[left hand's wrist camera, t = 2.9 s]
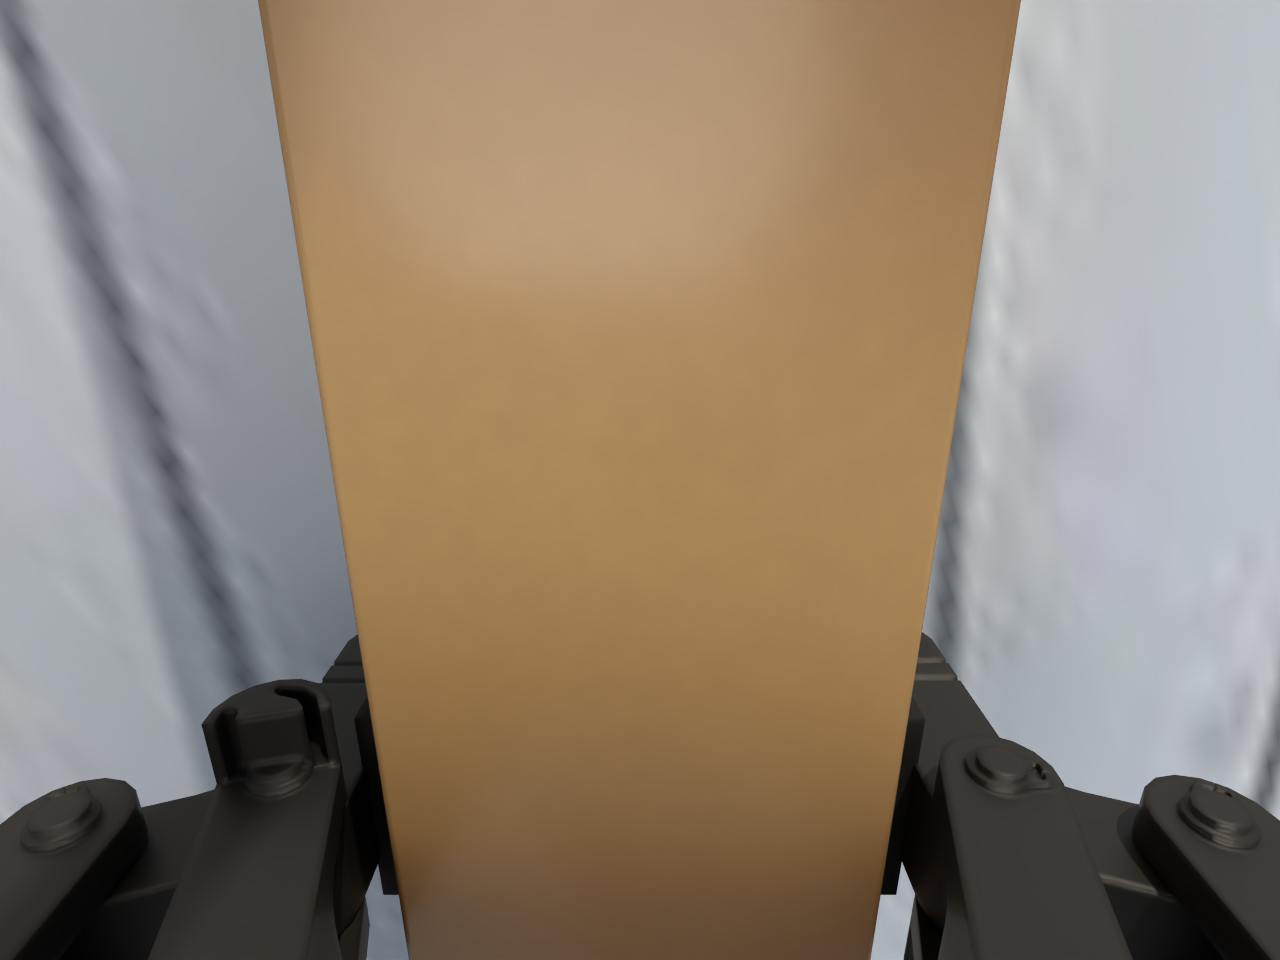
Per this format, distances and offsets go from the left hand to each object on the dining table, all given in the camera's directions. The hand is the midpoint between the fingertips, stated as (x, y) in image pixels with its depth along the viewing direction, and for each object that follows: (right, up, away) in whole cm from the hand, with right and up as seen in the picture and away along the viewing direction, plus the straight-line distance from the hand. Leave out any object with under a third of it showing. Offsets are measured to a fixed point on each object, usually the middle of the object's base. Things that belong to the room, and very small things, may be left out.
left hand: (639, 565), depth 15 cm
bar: (0, +27, -9) cm, 29 cm away
